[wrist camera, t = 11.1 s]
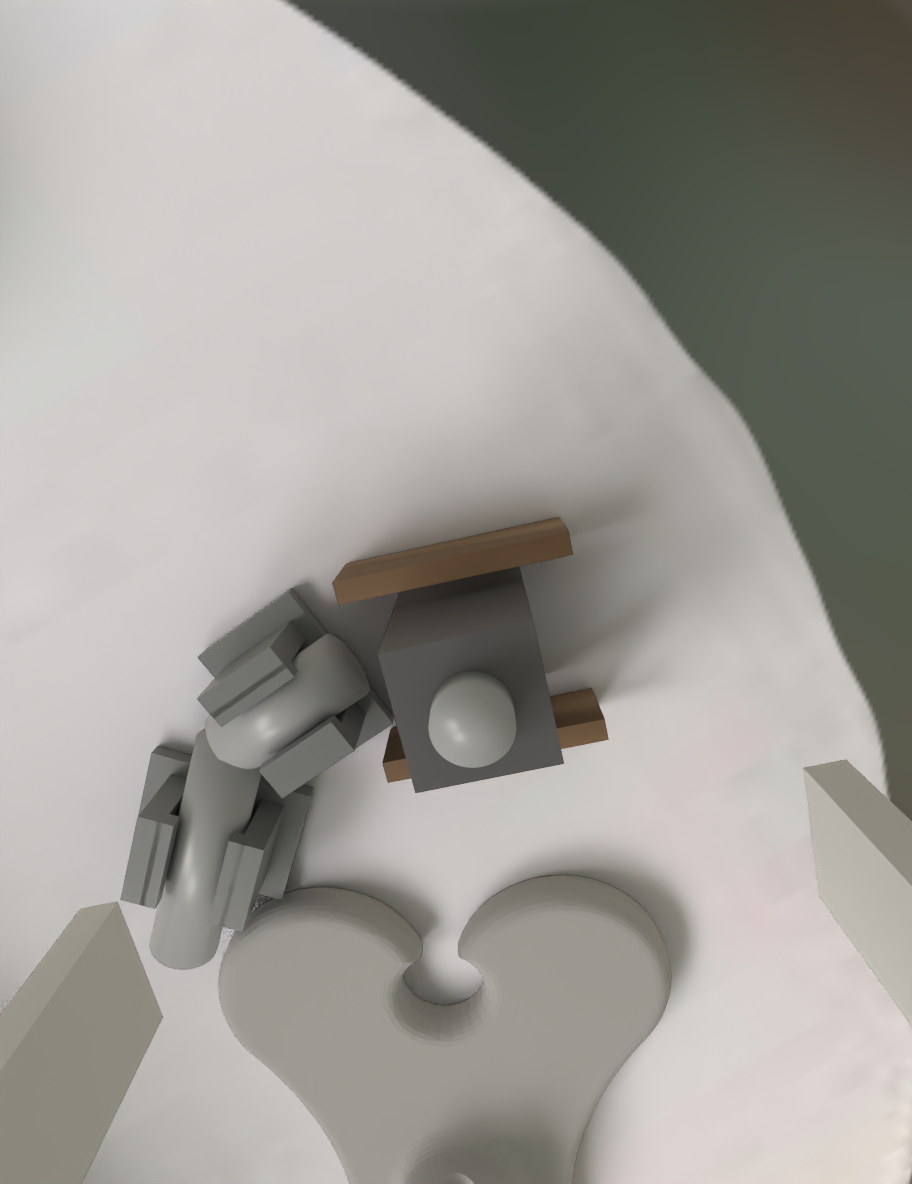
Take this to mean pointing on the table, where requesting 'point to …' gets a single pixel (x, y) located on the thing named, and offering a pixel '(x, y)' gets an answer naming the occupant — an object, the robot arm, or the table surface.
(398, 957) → the holder
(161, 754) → the clip
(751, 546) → the table surface
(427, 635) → the block
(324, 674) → the clip
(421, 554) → the end holder
